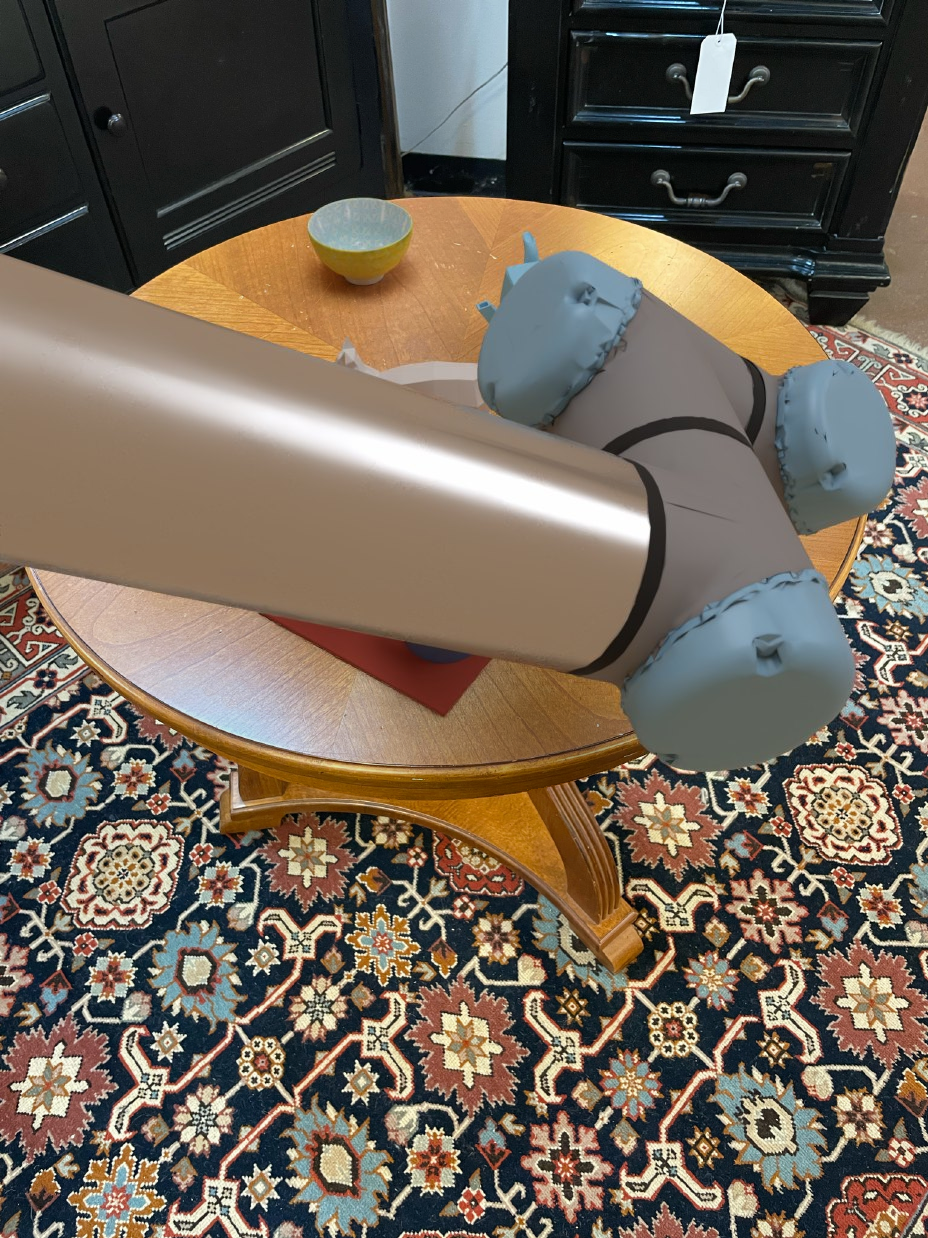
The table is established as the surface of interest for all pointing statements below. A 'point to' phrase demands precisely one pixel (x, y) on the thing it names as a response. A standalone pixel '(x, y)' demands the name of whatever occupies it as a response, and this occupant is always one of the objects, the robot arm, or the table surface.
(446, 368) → the cat figurine
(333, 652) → the red mat
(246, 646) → the table surface
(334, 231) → the bowl
